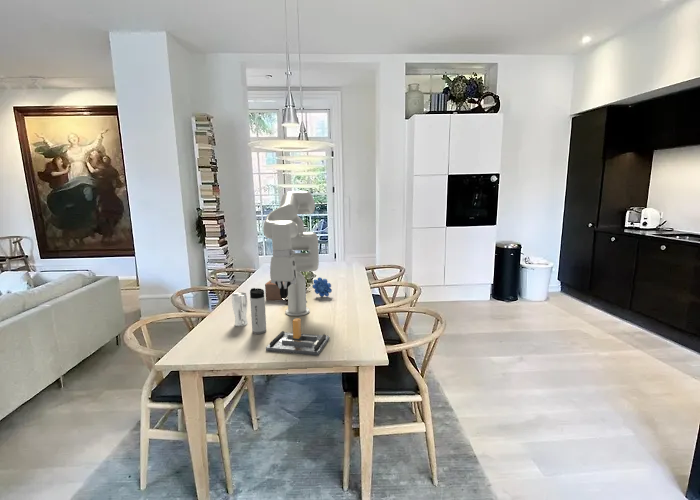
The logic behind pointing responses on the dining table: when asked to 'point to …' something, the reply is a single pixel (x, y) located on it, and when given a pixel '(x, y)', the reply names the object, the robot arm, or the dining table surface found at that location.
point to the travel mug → (258, 311)
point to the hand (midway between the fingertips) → (284, 297)
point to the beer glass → (240, 308)
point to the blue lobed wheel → (322, 287)
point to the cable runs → (284, 332)
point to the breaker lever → (297, 329)
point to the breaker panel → (298, 344)
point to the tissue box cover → (272, 291)
